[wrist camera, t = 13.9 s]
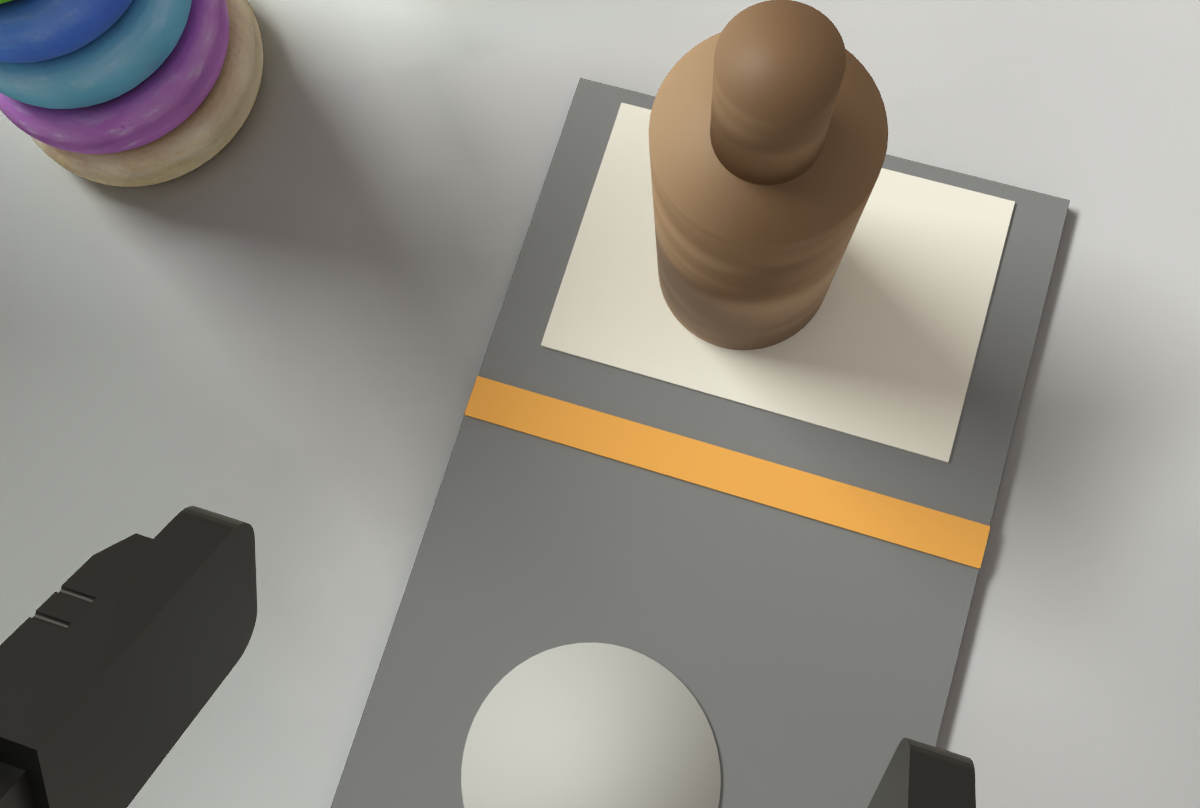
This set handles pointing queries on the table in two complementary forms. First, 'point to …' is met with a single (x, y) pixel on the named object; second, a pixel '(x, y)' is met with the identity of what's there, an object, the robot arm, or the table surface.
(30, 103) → the stacking toy
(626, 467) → the lane mat
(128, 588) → the robot arm
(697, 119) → the walnut skittle
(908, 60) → the table surface
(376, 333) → the table surface
